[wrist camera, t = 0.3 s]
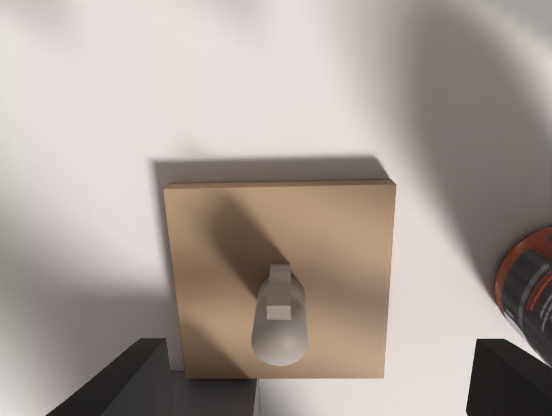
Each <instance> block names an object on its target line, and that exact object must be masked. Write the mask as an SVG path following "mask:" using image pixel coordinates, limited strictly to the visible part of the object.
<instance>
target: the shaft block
mask: <svg viewBox="0 0 552 416" xmlns="http://www.w3.org/2000/svg"><path fill="white" fill-rule="evenodd" d="M163 193H164V201H165V210H166V218H167V226H168V235H169V243H170V251H171V260H172V268H173V276H174V284H175V293H176V301H177V309H178V318H179V326H180V334H181V343H182V351H183V359H184V367H185V376H186V379H233V378H384V364H385V349H386V334H387V318H388V303H389V288H390V273H391V257H392V242H393V227H394V211H395V196H396V184H395V183H394V182H393V181H392V180H391V179H365V180H317V181H269V182H221V183H173V184H169V185H167V186H166V187H165V188H164V189H163Z"/></svg>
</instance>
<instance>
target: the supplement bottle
mask: <svg viewBox="0 0 552 416" xmlns="http://www.w3.org/2000/svg"><path fill="white" fill-rule="evenodd" d="M495 296H496V302H497V304H498V306H499V309H500V311H501V313H502V314H503V316H504V317H505V318H506V319H507V321H508V322H509V323H510V325H511V326H512V327H513V328H514V329H515V330H516V331H517V332H518V333H519V335H520V336H521V337H522V338H523V339H524V340H525V341H526V342H527V343H528V344H529V345H530V346H531V347H532V349H533V350H534V351H535V352H536V353H537V354H538V355H539V356H540V357H541V358H542V359H543V360H544V362H545V363H546V364H547V365H548V366H549V367H551V368H552V226H549V227H546V228H543V229H541V230H538V231H536V232H534V233H533V234H531V235H529V236H527V237H526V238H524V239H523V240H522V241H520V242H519V243H518V244H516V245H515V246H514V247H513V249H512V250H511V251H510V252H509V253H508V255H507V256H506V257H505V259H504V260H503V262H502V264H501V266H500V268H499V271H498V273H497V276H496V281H495Z"/></svg>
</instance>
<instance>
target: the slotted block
mask: <svg viewBox="0 0 552 416" xmlns="http://www.w3.org/2000/svg"><path fill="white" fill-rule="evenodd" d="M170 376H171V384H172V392H173V400H174V408H175V409H174V413H173V416H260V400H259V381H258V378H233V379H186V376H185V371H170Z"/></svg>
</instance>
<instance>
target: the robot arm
mask: <svg viewBox="0 0 552 416" xmlns="http://www.w3.org/2000/svg"><path fill="white" fill-rule="evenodd" d="M174 409H175V408H174V400H173V392H172V384H171V376H170V368H169V360H168V351H167V343H166V338H141V339H139V340H138V341H137V342H135V343H134V344H133V345H132V346H130V347H129V348H128V349H127V350H126V351H124V352H123V353H122V354H121V355H120V356H118V357H117V358H116V359H115V360H114V361H113V362H111V363H110V364H109V365H108V366H107V367H105V368H104V369H103V370H102V371H101V372H99V373H98V374H97V375H96V376H95V377H93V378H92V379H91V380H90V381H89V382H87V383H86V384H85V385H84V386H83V387H81V388H80V389H79V390H78V391H76V392H75V393H74V394H73V395H72V396H70V397H69V398H68V399H67V400H65V401H64V402H63V403H61V404H60V405H59V406H58V407H56V408H55V409H54V410H52V411H51V412H50V413H48V414H47V415H46V416H173V413H174ZM466 412H467V415H468V416H552V368H551V367H549V366H548V365H546V364H545V363H543V362H542V361H540V360H538V359H537V358H535V357H534V356H532V355H530V354H529V353H527V352H526V351H524V350H522V349H521V348H519V347H518V346H516V345H514V344H512V343H511V342H509V341H507V340H505V339H477V341H476V348H475V354H474V361H473V367H472V374H471V381H470V387H469V394H468V401H467V407H466Z"/></svg>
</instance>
